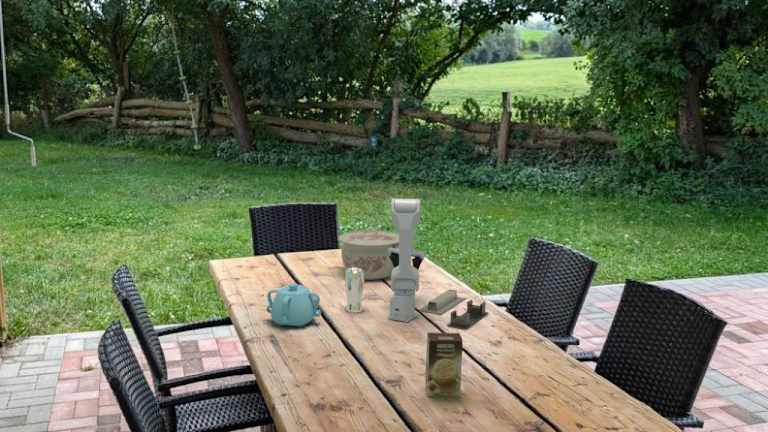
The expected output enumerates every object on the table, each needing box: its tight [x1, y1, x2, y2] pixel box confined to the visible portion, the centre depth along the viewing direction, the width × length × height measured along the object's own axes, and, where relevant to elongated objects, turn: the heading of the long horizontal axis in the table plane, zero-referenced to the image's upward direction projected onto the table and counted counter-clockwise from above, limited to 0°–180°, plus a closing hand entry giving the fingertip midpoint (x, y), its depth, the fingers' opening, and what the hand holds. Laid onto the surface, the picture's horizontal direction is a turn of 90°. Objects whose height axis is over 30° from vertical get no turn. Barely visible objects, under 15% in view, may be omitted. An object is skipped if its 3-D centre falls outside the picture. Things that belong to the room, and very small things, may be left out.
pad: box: [418, 296, 467, 316], centre depth 282 cm, size 22×9×1 cm, turn 150°
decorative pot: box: [266, 283, 322, 328], centre depth 261 cm, size 16×16×14 cm
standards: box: [446, 299, 489, 331], centre depth 265 cm, size 20×7×5 cm, turn 150°
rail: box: [427, 289, 457, 311], centre depth 282 cm, size 18×3×3 cm, turn 150°
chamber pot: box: [337, 227, 399, 281], centre depth 318 cm, size 28×28×21 cm
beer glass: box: [344, 268, 365, 313], centre depth 274 cm, size 7×7×15 cm
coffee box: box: [424, 332, 464, 398], centre depth 205 cm, size 9×6×16 cm
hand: (406, 274), depth 284 cm, fingers open, 7 cm apart
